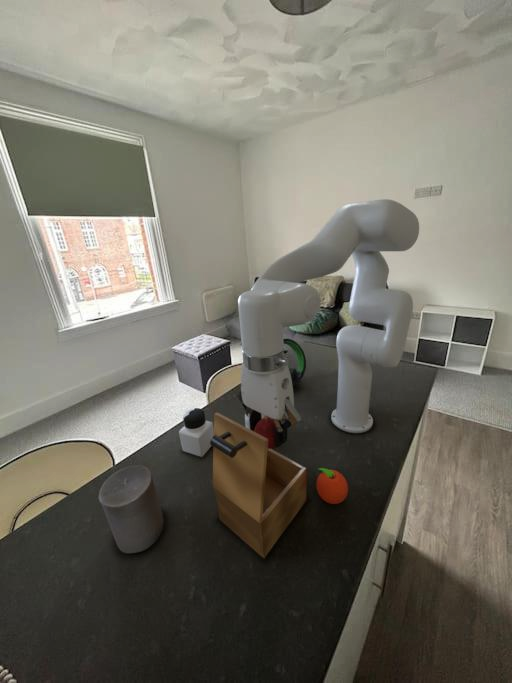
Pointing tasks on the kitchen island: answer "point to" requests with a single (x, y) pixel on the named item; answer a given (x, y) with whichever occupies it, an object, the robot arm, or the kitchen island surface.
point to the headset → (298, 374)
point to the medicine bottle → (196, 432)
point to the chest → (268, 504)
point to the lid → (239, 465)
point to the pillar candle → (132, 508)
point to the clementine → (331, 486)
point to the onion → (267, 430)
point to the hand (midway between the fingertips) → (268, 435)
